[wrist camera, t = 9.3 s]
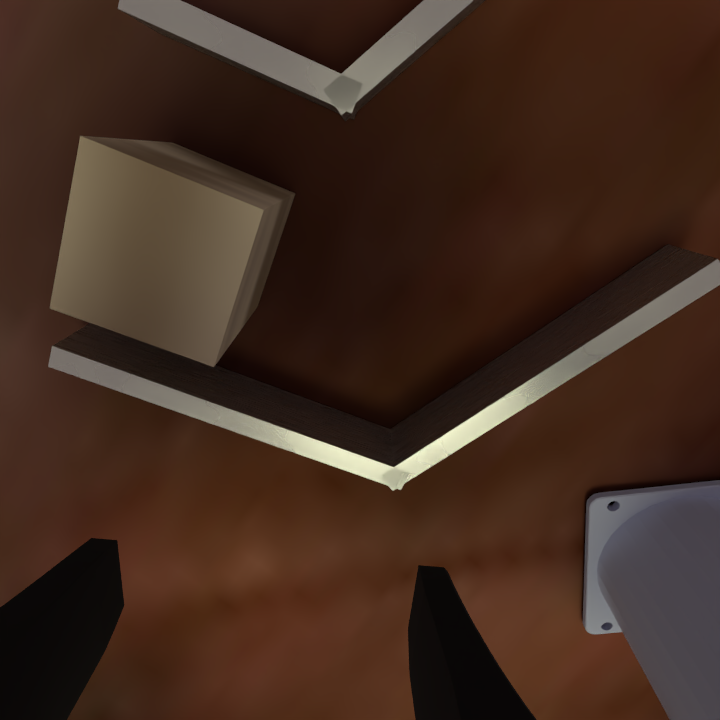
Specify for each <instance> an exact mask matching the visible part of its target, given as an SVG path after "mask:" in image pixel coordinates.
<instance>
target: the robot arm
mask: <svg viewBox="0 0 720 720" xmlns="http://www.w3.org/2000/svg"><path fill="white" fill-rule="evenodd" d="M613 501H615V503H614V504H612V505H608V504H609V503H610V502H613ZM123 607H124V599H123V590H122V581H121V571H120V562H119V553H118V544H117V540H107V539H95V538H91V539H90V540H88V541H87V542H86V543H84V544H83V545H82V546H80V547H79V548H78V549H77V550H75V551H74V552H73V553H71V554H70V555H69V556H67V557H66V558H65V559H64V560H62V561H61V562H60V563H58V564H57V565H56V566H55V567H53V568H52V569H51V570H49V571H48V572H47V573H46V574H44V575H43V576H42V577H40V578H39V579H38V580H36V581H35V582H34V583H33V584H31V585H30V586H29V587H27V588H26V589H25V590H23V591H22V592H21V593H19V594H18V595H17V596H15V597H14V598H13V599H11V600H10V601H9V602H7V603H6V604H5V605H3V606H2V607H0V720H67V718H68V716H69V715H70V713H71V711H72V709H73V708H74V706H75V704H76V702H77V700H78V699H79V697H80V695H81V693H82V692H83V690H84V688H85V686H86V684H87V683H88V681H89V679H90V677H91V675H92V674H93V672H94V670H95V668H96V666H97V665H98V663H99V661H100V659H101V657H102V655H103V654H104V652H105V650H106V648H107V645H108V643H109V641H110V638H111V636H112V634H113V631H114V629H115V627H116V624H117V622H118V619H119V617H120V614H121V612H122V609H123ZM583 625H584V627H585V629H586V631H587V632H588V633H591V634H605V633H616V632H623V634H624V636H625V638H626V639H627V641H628V643H629V645H630V647H631V649H632V651H633V652H634V654H635V656H636V658H637V660H638V662H639V663H640V665H641V667H642V669H643V671H644V673H645V675H646V676H647V678H648V680H649V682H650V684H651V686H652V688H653V689H654V691H655V693H656V695H657V697H658V699H659V700H660V702H661V704H662V706H663V708H664V710H665V712H666V713H667V715H668V717H669V719H670V720H720V480H715V481H706V482H696V483H687V484H677V485H668V486H659V487H649V488H640V489H630V490H621V491H611V492H602V493H596V494H593V495H592V496H590V497H589V499H588V500H587V503H586V532H585V565H584V598H583ZM408 642H409V670H410V681H411V688H412V696H413V703H414V711H415V718H416V720H536V718H535V717H534V716H533V714H532V713H531V712H530V710H529V709H528V708H527V706H526V705H525V703H524V702H523V701H522V699H521V698H520V696H519V695H518V694H517V692H516V691H515V689H514V688H513V686H512V685H511V683H510V682H509V680H508V679H507V677H506V676H505V674H504V673H503V671H502V670H501V668H500V667H499V665H498V663H497V662H496V660H495V659H494V657H493V655H492V654H491V652H490V650H489V649H488V647H487V645H486V644H485V642H484V640H483V639H482V637H481V635H480V633H479V632H478V630H477V628H476V627H475V625H474V623H473V621H472V619H471V618H470V616H469V614H468V612H467V610H466V608H465V606H464V604H463V603H462V601H461V599H460V597H459V595H458V593H457V591H456V589H455V587H454V584H453V582H452V580H451V578H450V576H449V574H448V572H447V570H446V569H445V568H444V567H432V566H420V565H419V566H418V572H417V578H416V584H415V590H414V596H413V602H412V608H411V614H410V620H409V626H408Z"/></svg>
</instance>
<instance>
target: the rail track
mask: <svg viewBox="0 0 720 720" xmlns="http://www.w3.org/2000/svg"><path fill="white" fill-rule="evenodd" d="M484 1H485V0H423V1H422V2H421V3H420V4H419V5H418V6H417V7H416V8H414V9H413V10H412V11H411V12H410V13H409V14H408V15H407V16H405V17H404V18H403V19H402V20H401V21H400V22H399V23H398V24H397V25H395V26H394V27H393V28H392V29H391V30H390V31H389V32H388V33H386V34H385V35H384V36H383V37H382V38H381V39H380V40H379V41H378V42H376V43H375V44H374V45H373V46H372V47H371V48H370V49H369V50H367V51H366V52H365V53H364V54H363V55H362V56H361V57H360V58H359V59H357V60H356V61H355V62H354V63H353V64H352V65H351V66H350V67H348V68H347V69H346V70H345V71H344V72H343V73H342V74H340V73H338V72H336V71H334V70H332V69H329V68H327V67H325V66H323V65H321V64H318V63H316V62H314V61H312V60H310V59H308V58H305V57H303V56H301V55H299V54H297V53H294V52H292V51H290V50H288V49H286V48H284V47H281V46H279V45H277V44H275V43H273V42H270V41H268V40H266V39H264V38H262V37H260V36H257V35H255V34H253V33H251V32H249V31H246V30H244V29H242V28H240V27H238V26H236V25H233V24H231V23H229V22H227V21H225V20H222V19H220V18H218V17H216V16H214V15H212V14H209V13H207V12H205V11H203V10H201V9H198V8H196V7H194V6H192V5H190V4H188V3H185V2H183V1H181V0H119V5H118V9H119V10H121V11H123V12H124V13H126V14H128V15H129V16H131V17H133V18H134V19H136V20H138V21H139V22H141V23H143V24H144V25H146V26H148V27H149V28H151V29H153V30H154V31H156V32H158V33H160V34H162V35H164V36H167V37H169V38H171V39H173V40H175V41H178V42H180V43H182V44H184V45H187V46H189V47H191V48H193V49H196V50H198V51H200V52H202V53H205V54H207V55H209V56H211V57H213V58H216V59H218V60H220V61H222V62H225V63H227V64H229V65H231V66H234V67H236V68H238V69H240V70H243V71H245V72H247V73H249V74H251V75H254V76H256V77H258V78H260V79H263V80H265V81H267V82H269V83H272V84H274V85H276V86H278V87H281V88H283V89H285V90H287V91H289V92H292V93H294V94H296V95H298V96H301V97H303V98H305V99H307V100H310V101H312V102H314V103H316V104H319V105H321V106H323V107H325V108H327V109H330V110H332V111H334V112H336V113H339V114H340V115H341V116H342V118H343V119H344V121H347V120H348V119H349V118H350V119H352V120H354V119H355V116H356V113H357V111H358V110H359V109H360V108H362V107H363V106H364V105H365V104H366V103H367V102H369V101H370V100H371V99H372V98H373V97H374V96H375V95H377V94H378V93H379V92H380V91H381V90H382V89H384V88H385V87H386V86H387V85H388V84H389V83H391V82H392V81H393V80H394V79H395V78H396V77H397V76H399V75H400V74H401V73H402V72H403V71H404V70H406V69H407V68H408V67H409V66H410V65H411V64H413V63H414V62H415V61H416V60H417V59H418V58H419V57H421V56H422V55H423V54H424V53H425V52H426V51H428V50H429V49H430V48H431V47H432V46H433V45H434V44H436V43H437V42H438V41H439V40H440V39H441V38H443V37H444V36H445V35H446V34H447V33H448V32H450V31H451V30H452V29H453V28H454V27H455V26H456V25H458V24H459V23H460V22H461V21H462V20H463V19H465V18H466V17H467V16H468V15H469V14H470V13H472V12H473V11H474V10H475V9H476V8H477V7H478V6H480V5H481V4H482V3H483V2H484ZM719 285H720V262H719V260H718V259H717V258H713V257H710V256H706V255H703V254H699V253H696V252H692V251H689V250H686V249H682V248H679V247H675V246H672V245H668V244H667V245H666V246H664V247H663V248H661V249H660V250H658V251H657V252H655V253H654V254H652V255H651V256H649V257H648V258H646V259H645V260H643V261H642V262H640V263H639V264H637V265H636V266H634V267H633V268H631V269H630V270H628V271H627V272H625V273H624V274H622V275H621V276H619V277H618V278H616V279H615V280H613V281H612V282H610V283H609V284H607V285H606V286H604V287H603V288H601V289H600V290H598V291H597V292H595V293H594V294H592V295H591V296H589V297H588V298H586V299H585V300H583V301H582V302H580V303H579V304H577V305H576V306H574V307H573V308H571V309H570V310H568V311H567V312H565V313H564V314H562V315H561V316H559V317H558V318H556V319H555V320H553V321H552V322H550V323H549V324H547V325H546V326H544V327H543V328H541V329H540V330H538V331H537V332H535V333H534V334H532V335H531V336H529V337H528V338H526V339H525V340H523V341H522V342H520V343H519V344H517V345H516V346H514V347H513V348H511V349H510V350H508V351H507V352H505V353H504V354H502V355H501V356H499V357H498V358H496V359H495V360H493V361H492V362H490V363H489V364H487V365H486V366H484V367H483V368H481V369H480V370H478V371H477V372H475V373H474V374H472V375H471V376H469V377H468V378H466V379H465V380H463V381H462V382H460V383H459V384H457V385H456V386H454V387H453V388H451V389H450V390H448V391H447V392H445V393H444V394H442V395H441V396H439V397H438V398H436V399H435V400H433V401H432V402H430V403H429V404H427V405H426V406H424V407H423V408H421V409H420V410H418V411H417V412H415V413H414V414H412V415H411V416H409V417H408V418H406V419H405V420H403V421H402V422H400V423H399V424H397V425H396V426H394V427H393V428H391V429H388V428H386V427H383V426H380V425H377V424H375V423H372V422H369V421H367V420H364V419H361V418H358V417H356V416H353V415H350V414H347V413H345V412H342V411H339V410H336V409H334V408H331V407H328V406H326V405H323V404H320V403H317V402H315V401H312V400H309V399H306V398H304V397H301V396H298V395H295V394H293V393H290V392H287V391H285V390H282V389H279V388H276V387H274V386H271V385H268V384H265V383H263V382H260V381H257V380H254V379H252V378H249V377H246V376H244V375H241V374H238V373H235V372H233V371H230V370H227V369H224V368H222V367H219V366H216V365H215V366H214V367H212V366H209V365H206V364H204V363H201V362H198V361H195V360H192V359H190V358H187V357H184V356H181V355H178V354H176V353H173V352H170V351H167V350H165V349H162V348H159V347H156V346H153V345H151V344H148V343H145V342H142V341H139V340H137V339H134V338H131V337H128V336H125V335H123V334H120V333H117V332H114V331H112V330H109V329H106V328H103V327H100V326H98V325H95V324H92V323H89V324H88V325H86V326H84V327H83V328H81V329H79V330H78V331H76V332H75V333H73V334H71V335H70V336H68V337H66V338H65V339H63V340H61V341H60V342H58V343H56V344H55V345H53V346H52V350H51V355H50V360H49V365H48V367H51V368H54V369H57V370H60V371H62V372H65V373H68V374H71V375H74V376H77V377H80V378H82V379H85V380H88V381H91V382H94V383H97V384H100V385H102V386H105V387H108V388H111V389H114V390H117V391H120V392H122V393H125V394H128V395H131V396H134V397H137V398H140V399H142V400H145V401H148V402H151V403H154V404H157V405H160V406H162V407H165V408H168V409H171V410H174V411H177V412H179V413H182V414H185V415H188V416H191V417H194V418H197V419H199V420H202V421H205V422H208V423H211V424H214V425H217V426H219V427H222V428H225V429H228V430H231V431H234V432H237V433H239V434H242V435H245V436H248V437H251V438H254V439H257V440H259V441H262V442H265V443H268V444H271V445H274V446H277V447H279V448H282V449H285V450H288V451H291V452H294V453H297V454H299V455H302V456H305V457H308V458H311V459H314V460H317V461H319V462H322V463H325V464H328V465H331V466H334V467H337V468H339V469H342V470H345V471H348V472H351V473H354V474H357V475H359V476H362V477H365V478H368V479H371V480H374V481H377V482H379V483H382V484H385V485H388V486H389V487H390V488H391V489H392V490H395V489H396V488H397V489H399V490H401V489H402V487H403V485H404V483H406V482H408V481H409V480H411V479H412V478H414V477H416V476H417V475H419V474H420V473H422V472H423V471H425V470H427V469H428V468H430V467H431V466H433V465H435V464H436V463H438V462H439V461H441V460H443V459H444V458H446V457H447V456H449V455H450V454H452V453H454V452H455V451H457V450H458V449H460V448H462V447H463V446H465V445H466V444H468V443H469V442H471V441H473V440H474V439H476V438H477V437H479V436H481V435H482V434H484V433H485V432H487V431H489V430H490V429H492V428H493V427H495V426H496V425H498V424H500V423H501V422H503V421H504V420H506V419H508V418H509V417H511V416H512V415H514V414H515V413H517V412H519V411H520V410H522V409H523V408H525V407H527V406H528V405H530V404H531V403H533V402H535V401H536V400H538V399H539V398H541V397H542V396H544V395H546V394H547V393H549V392H550V391H552V390H554V389H555V388H557V387H558V386H560V385H562V384H563V383H565V382H566V381H568V380H569V379H571V378H573V377H574V376H576V375H577V374H579V373H581V372H582V371H584V370H585V369H587V368H588V367H590V366H592V365H593V364H595V363H596V362H598V361H600V360H601V359H603V358H604V357H606V356H608V355H609V354H611V353H612V352H614V351H615V350H617V349H619V348H620V347H622V346H623V345H625V344H627V343H628V342H630V341H631V340H633V339H635V338H636V337H638V336H639V335H641V334H642V333H644V332H646V331H647V330H649V329H650V328H652V327H654V326H655V325H657V324H658V323H660V322H661V321H663V320H665V319H666V318H668V317H669V316H671V315H673V314H674V313H676V312H677V311H679V310H681V309H682V308H684V307H685V306H687V305H688V304H690V303H692V302H693V301H695V300H696V299H698V298H700V297H701V296H703V295H704V294H706V293H707V292H709V291H711V290H712V289H714V288H715V287H717V286H719Z"/></svg>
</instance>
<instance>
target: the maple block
mask: <svg viewBox="0 0 720 720" xmlns="http://www.w3.org/2000/svg"><path fill="white" fill-rule="evenodd" d="M295 194H296V193H293V192H291V191H288V190H286V189H284V188H281V187H279V186H276V185H274V184H272V183H269V182H267V181H264V180H262V179H259V178H257V177H255V176H252V175H250V174H247V173H245V172H242V171H240V170H238V169H235V168H233V167H230V166H228V165H225V164H223V163H221V162H218V161H216V160H213V159H211V158H208V157H206V156H204V155H201V154H199V153H196V152H194V151H192V150H189V149H187V148H184V147H182V146H179V145H177V144H175V143H171V142H158V141H145V140H131V139H118V138H104V137H91V136H80V141H79V146H78V152H77V158H76V163H75V169H74V175H73V180H72V186H71V191H70V197H69V203H68V208H67V214H66V219H65V225H64V231H63V236H62V242H61V247H60V253H59V259H58V264H57V270H56V275H55V281H54V287H53V292H52V298H51V303H50V309H53V310H56V311H59V312H61V313H64V314H67V315H70V316H72V317H75V318H78V319H81V320H84V321H86V322H89V323H92V324H95V325H98V326H100V327H103V328H106V329H109V330H112V331H114V332H117V333H120V334H123V335H125V336H128V337H131V338H134V339H137V340H139V341H142V342H145V343H148V344H151V345H153V346H156V347H159V348H162V349H165V350H167V351H170V352H173V353H176V354H178V355H181V356H184V357H187V358H190V359H192V360H195V361H198V362H201V363H204V364H206V365H209V366H212V367H214V366H215V365H216V364H217V362H218V361H219V360H220V358H221V357H222V355H223V354H224V353H225V351H226V350H227V348H228V347H229V346H230V344H231V343H232V341H233V340H234V339H235V337H236V336H237V335H238V333H239V332H240V330H241V329H242V328H243V326H244V325H245V323H246V322H247V321H248V319H249V318H250V317H251V315H252V314H253V312H254V311H255V310H256V308H257V307H258V304H259V301H260V298H261V295H262V292H263V289H264V286H265V283H266V280H267V277H268V274H269V271H270V268H271V265H272V262H273V259H274V256H275V253H276V250H277V247H278V244H279V241H280V238H281V235H282V232H283V229H284V226H285V223H286V220H287V217H288V214H289V211H290V208H291V205H292V202H293V200H294V197H295Z"/></svg>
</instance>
